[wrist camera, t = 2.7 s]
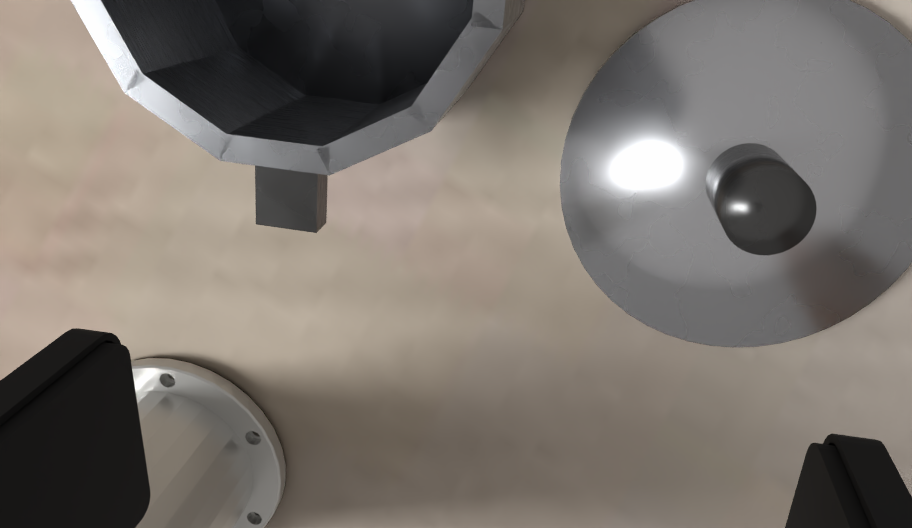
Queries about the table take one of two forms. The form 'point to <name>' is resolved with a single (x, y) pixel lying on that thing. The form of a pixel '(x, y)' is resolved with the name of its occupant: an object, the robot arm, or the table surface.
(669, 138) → the lid
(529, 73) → the table surface
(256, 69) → the pot
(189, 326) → the table surface
